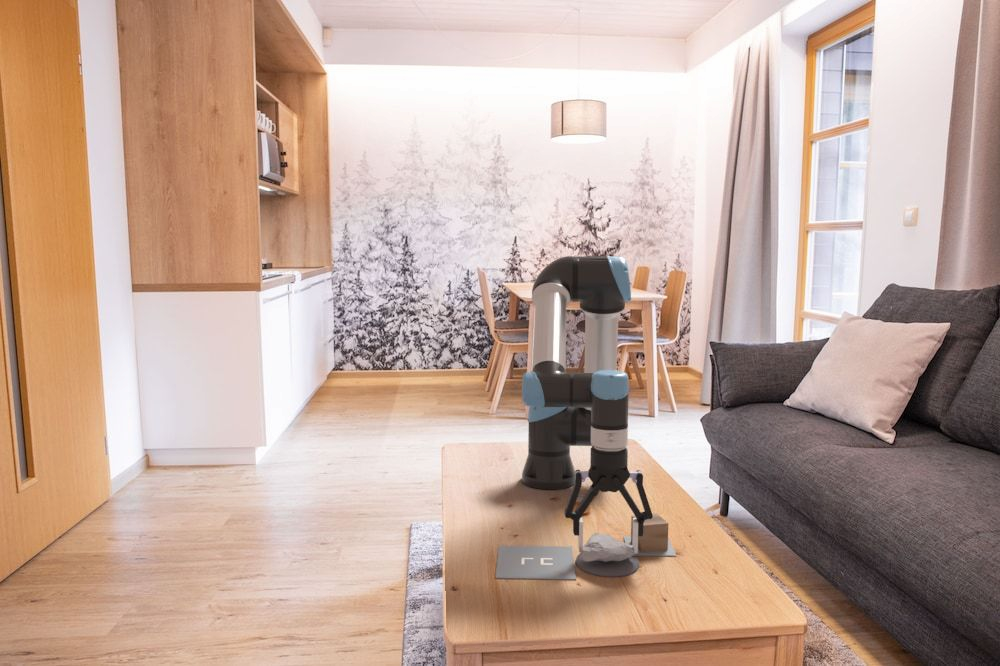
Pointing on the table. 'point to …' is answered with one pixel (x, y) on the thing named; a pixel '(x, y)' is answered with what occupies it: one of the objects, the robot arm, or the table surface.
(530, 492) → the table surface
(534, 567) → the tile
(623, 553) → the stone
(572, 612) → the table surface
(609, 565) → the coaster
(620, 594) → the table surface
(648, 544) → the walnut block
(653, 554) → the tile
